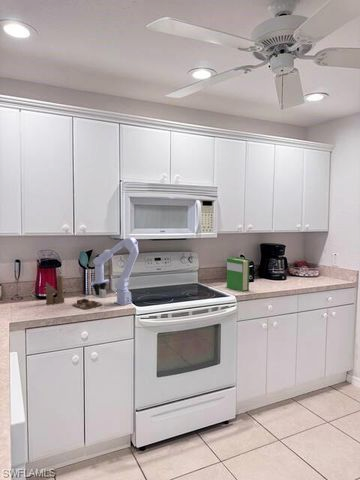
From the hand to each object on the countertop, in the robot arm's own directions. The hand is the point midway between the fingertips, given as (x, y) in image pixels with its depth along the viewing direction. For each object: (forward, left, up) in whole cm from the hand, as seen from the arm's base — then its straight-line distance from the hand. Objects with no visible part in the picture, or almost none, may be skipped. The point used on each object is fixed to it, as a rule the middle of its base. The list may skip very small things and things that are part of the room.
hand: (99, 294), depth 234 cm
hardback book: (-49, -97, -5) cm, 109 cm away
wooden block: (+18, +22, -5) cm, 29 cm away
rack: (-3, +12, -5) cm, 13 cm away
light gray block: (0, 0, -2) cm, 2 cm away
